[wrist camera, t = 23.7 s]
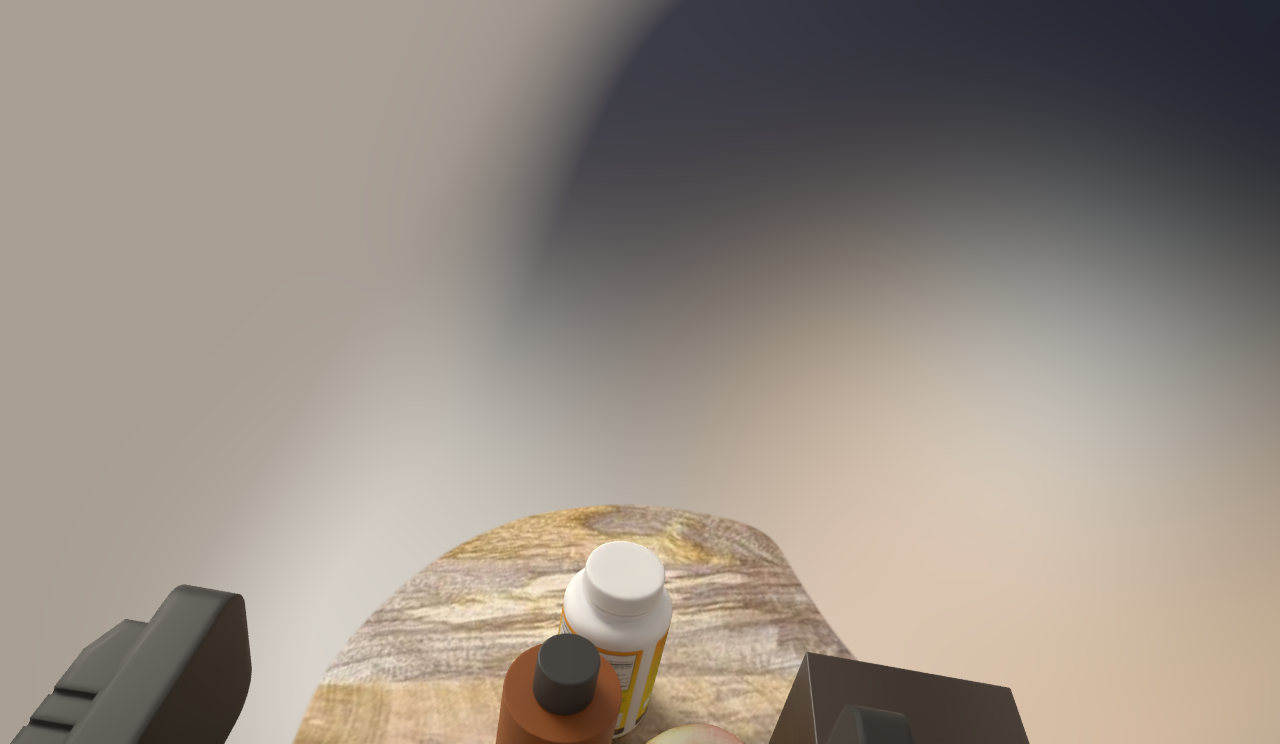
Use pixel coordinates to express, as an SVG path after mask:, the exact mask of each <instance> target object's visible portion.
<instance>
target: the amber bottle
mask: <svg viewBox="0 0 1280 744" xmlns="http://www.w3.org/2000/svg"><path fill="white" fill-rule="evenodd" d="M621 702H622V689H621V684H620V680H619V678H618V676H617V674H616V672H615V670H614V669H613V667H612V666H611V665H610V663H609V662H608V661H607V660H606V659H605V658H604V657H602V656H601V655H600V654H599V652H598V650H597V648H596V647H595V646H594V644H593V643H592V642H590V641H589V640H588V639H586V638H584V637H582V636H580V635H577V634H571V633H563V634H558V635H555V636H552V637H550V638H549V639H547V640H546V641H545V642H544V643H543V644H540V645H537V646H535V647H532V648H530V649H529V650H527V651H525V652H524V653H522V654H521V655H520V656H519V657H518V658H517V659H516V660H515V661H514V662H513V663H512V665H511V666H510V668H509V670H508V672H507V674H506V677H505V680H504V686H503V693H502V701H501V708H500V716H499V723H498V731H497V738H496V744H611V743H612V739H613V735H614V731H615V727H616V723H617V719H618V715H619V711H620V707H621Z"/></svg>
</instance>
